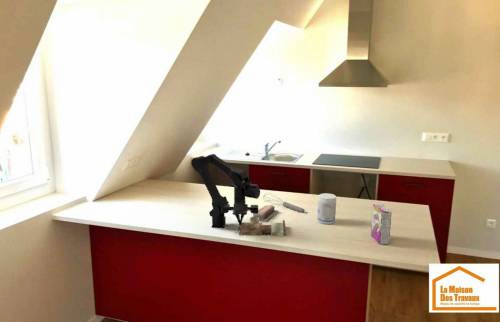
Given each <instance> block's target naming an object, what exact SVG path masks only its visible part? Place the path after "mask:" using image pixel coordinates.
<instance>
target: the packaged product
mask: <svg viewBox="0 0 500 322" xmlns="http://www.w3.org/2000/svg"><path fill="white" fill-rule="evenodd" d="M275 208H276V207H275V206H274V204H268V205H263V206H262V207H261V208H258V213H252V217H259V223H267V222H268V221H270V220H271V219H272V218H274V217H276V215H277V214H279V210H276V209H275Z"/></svg>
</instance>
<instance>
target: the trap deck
mask: <svg viewBox="0 0 500 322" xmlns="http://www.w3.org/2000/svg"><path fill="white" fill-rule="evenodd" d="M286 228H287V227H286V221H285V219H282V222H271V223H270V224H263V222H259V229H250V222H247V221H244V222H243V221H242V223H241V225H239V231H238V233H239V236H271V237H273V236H274V237H275V236H276V237H281V236H282V237H286V235H287V234H286Z"/></svg>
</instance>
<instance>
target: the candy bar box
mask: <svg viewBox="0 0 500 322" xmlns="http://www.w3.org/2000/svg"><path fill="white" fill-rule="evenodd" d="M371 209H372V212H371V227H370V236H371V237H372V238H373V239H374V240H375V241H376V242H377V244H378V245H381V246H384V245H390V241H391V238H390V237H391V228H392V227H391V224H392V210H390V209H389V208H388V207H386V206H385V205H383V204H382V203H374V204H372V207H371Z"/></svg>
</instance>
